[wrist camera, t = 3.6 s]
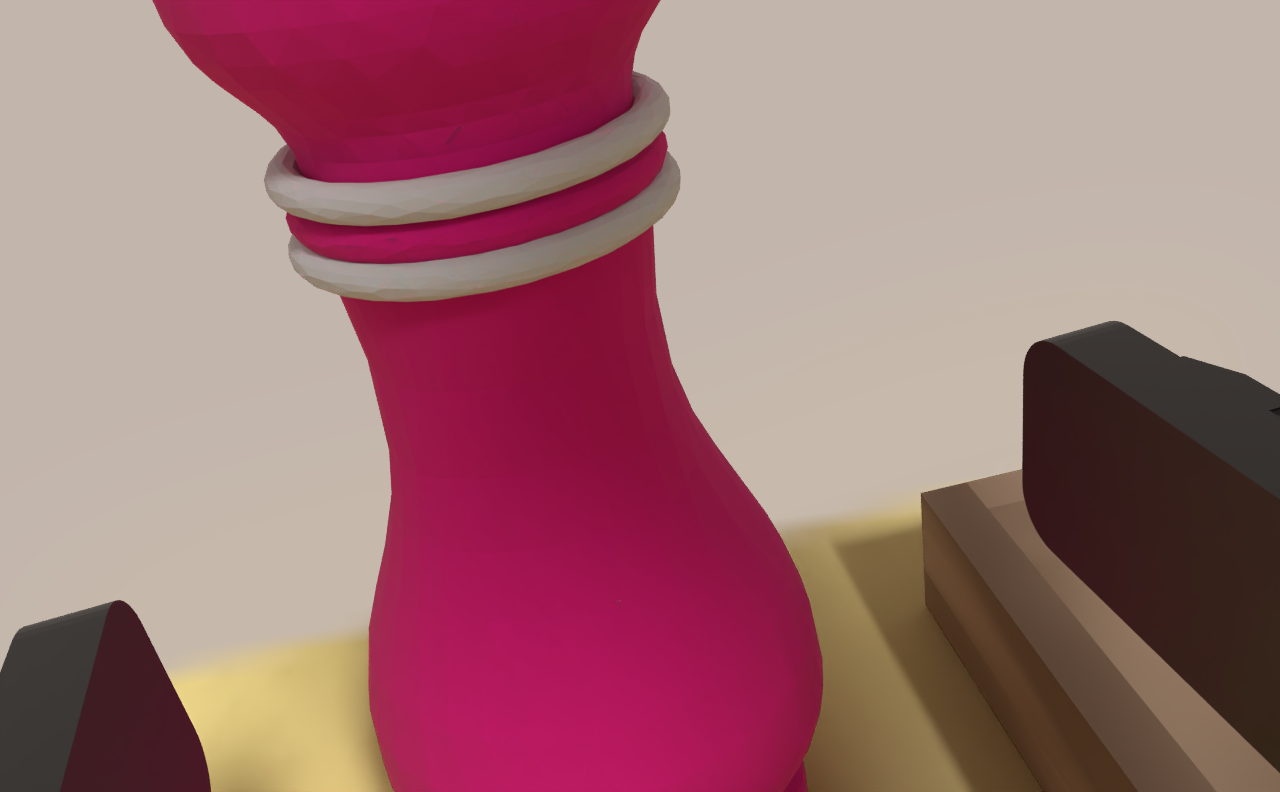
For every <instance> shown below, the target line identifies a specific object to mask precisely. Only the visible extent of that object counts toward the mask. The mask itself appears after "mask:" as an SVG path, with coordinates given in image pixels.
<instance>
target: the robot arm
mask: <svg viewBox="0 0 1280 792" xmlns="http://www.w3.org/2000/svg"><path fill="white" fill-rule="evenodd" d="M1022 485H1023V494H1024V499H1025V504H1026V507H1027V510H1028V513H1029V516H1030V519H1031V521H1032V523H1033V525H1034V527H1035V529H1036V531H1037V533H1038V534H1039V536H1040V538H1041V539H1042V541H1043V542H1044V543H1045V545H1046V546H1047V547H1048V548H1049V549H1050V550H1051V551H1052V552H1053V553H1054V554H1055V555H1056V556H1057V557H1058V558H1059V559H1060V560H1061V561H1062V562H1063V563H1064V564H1065V565H1066V566H1067V567H1068V568H1069V569H1070V570H1071V571H1072V572H1073V573H1074V574H1075V575H1076V576H1077V577H1078V578H1079V579H1080V580H1082V581H1083V582H1084V583H1085V584H1086V585H1087V586H1088V587H1089V588H1090V589H1091V590H1092V591H1093V592H1094V593H1095V594H1096V595H1097V596H1098V597H1099V598H1100V599H1101V600H1102V601H1103V602H1104V603H1105V604H1106V605H1107V606H1108V607H1109V608H1110V609H1111V610H1112V611H1113V612H1114V613H1115V614H1116V615H1118V616H1119V617H1120V618H1121V619H1122V620H1123V621H1124V622H1125V623H1126V624H1127V625H1128V626H1129V627H1130V628H1131V629H1132V630H1133V631H1134V632H1135V633H1136V634H1137V635H1138V636H1139V637H1140V638H1141V639H1142V640H1143V641H1144V642H1145V643H1146V644H1147V645H1148V646H1149V647H1150V648H1151V649H1153V650H1154V651H1155V652H1156V653H1157V654H1158V655H1159V656H1160V657H1161V658H1162V659H1163V660H1164V661H1165V662H1166V663H1167V664H1168V665H1169V666H1170V667H1171V668H1172V669H1173V670H1174V671H1175V672H1176V673H1177V674H1178V675H1179V676H1180V677H1181V678H1182V679H1183V680H1184V681H1185V682H1186V683H1187V684H1189V685H1190V686H1191V687H1192V688H1193V689H1194V690H1195V691H1196V692H1197V693H1198V694H1199V695H1200V696H1201V697H1202V698H1203V699H1204V700H1205V701H1206V702H1207V703H1208V704H1209V705H1210V706H1211V707H1212V708H1213V709H1214V710H1215V711H1216V712H1217V713H1218V714H1219V715H1220V716H1221V717H1222V718H1224V719H1225V720H1226V721H1227V722H1228V723H1229V724H1230V725H1231V726H1232V727H1233V728H1234V729H1235V730H1236V731H1237V732H1238V733H1239V734H1240V735H1241V736H1242V737H1243V738H1244V739H1245V740H1246V741H1247V742H1248V743H1249V744H1250V745H1251V746H1252V747H1253V748H1254V749H1255V750H1256V751H1257V752H1258V753H1260V754H1261V755H1262V756H1263V757H1264V758H1265V759H1266V760H1267V761H1268V762H1269V763H1270V764H1271V765H1272V766H1273V767H1274V768H1275V769H1276V770H1277V771H1278V772H1279V773H1280V394H1278V393H1276V392H1275V391H1273V390H1271V389H1270V388H1268V387H1266V386H1264V385H1263V384H1261V383H1259V382H1258V381H1256V380H1254V379H1252V378H1251V377H1249V376H1247V375H1245V374H1242V373H1239V372H1235V371H1232V370H1229V369H1225V368H1222V367H1218V366H1215V365H1212V364H1208V363H1205V362H1202V361H1198V360H1195V359H1192V358H1188V357H1185V356H1182V357H1179V356H1178V355H1176V354H1174V353H1173V352H1171V351H1170V350H1168V349H1166V348H1164V347H1163V346H1161V345H1159V344H1158V343H1156V342H1154V341H1153V340H1151V339H1150V338H1148V337H1146V336H1144V335H1143V334H1141V333H1140V332H1138V331H1136V330H1135V329H1133V328H1131V327H1130V326H1128V325H1126V324H1124V323H1122V322H1118V321H1109V322H1105V323H1102V324H1098V325H1095V326H1091V327H1088V328H1084V329H1081V330H1077V331H1073V332H1070V333H1067V334H1063V335H1059V336H1056V337H1052V338H1049V339H1045V340H1042V341H1039V342H1036V343H1034V344H1033V345H1032V346H1031V347H1030V349H1029V350H1028V352H1027V354H1026V357H1025V362H1024V371H1023V461H1022ZM0 792H211V787H210V779H209V773H208V767H207V763H206V759H205V755H204V751H203V748H202V745H201V742H200V740H199V737H198V735H197V733H196V730H195V728H194V726H193V724H192V722H191V720H190V718H189V716H188V714H187V712H186V710H185V708H184V706H183V704H182V702H181V700H180V698H179V696H178V695H177V693H176V691H175V689H174V687H173V685H172V683H171V681H170V679H169V677H168V675H167V673H166V671H165V669H164V667H163V665H162V663H161V661H160V659H159V657H158V655H157V653H156V651H155V649H154V647H153V645H152V643H151V641H150V639H149V637H148V635H147V633H146V631H145V629H144V627H143V625H142V623H141V621H140V619H139V618H138V616H137V614H136V613H135V612H134V610H133V609H132V608H131V607H130V606H129V605H128V604H127V603H125V602H124V601H121V600H117V601H113V602H109V603H106V604H103V605H99V606H95V607H92V608H88V609H85V610H81V611H78V612H75V613H71V614H67V615H64V616H60V617H57V618H53V619H50V620H46V621H42V622H39V623H36V624H32V625H29V626H25V627H23V628H21V629H19V631H18V632H17V633H16V634H15V636H14V638H13V640H12V643H11V645H10V648H9V651H8V653H7V657H6V659H5V661H4V664H3V667H2V669H1V672H0Z"/></svg>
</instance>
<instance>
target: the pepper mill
mask: <svg viewBox="0 0 1280 792" xmlns="http://www.w3.org/2000/svg"><path fill="white" fill-rule="evenodd" d="M153 2H154V4H155V7H156V9H157V11H158V13H159V16H160V18H161V20H162V22H163V24H164V26H165V27H166V29H167V30H168V31H169V32H170V34H171V35H172V37H173V38H174V39H175V41H176V42H177V43H178V44H179V46H180V47H181V48H182V49H183V51H184V52H185V54H186V55H187V56H188V58H189V59H190V60H191V61H192V63H193V64H194V65H195V66H197V67H198V68H199V69H200V70H201V71H202V72H203V73H204V74H206V75H207V76H208V77H209V78H210V79H211V80H212V81H214V82H215V83H216V84H218V85H219V86H220V87H222V88H223V89H224V90H226V91H227V92H229V93H230V94H232V95H233V96H234V97H236V98H237V99H239V100H240V101H241V102H243V103H244V104H246V105H247V106H249V107H250V108H251V109H253V110H254V111H256V112H257V113H259V114H260V115H261V116H262V117H263V118H265V119H266V120H267V121H268V122H269V123H270V124H272V125H273V126H274V127H275V128H276V129H277V131H278V132H279V133H280V135H281V136H282V138H283V139H284V140H285V142H286V143H287V145H285V146H284V147H282V148H281V149H280V150H279V151H278V152H277V154H276V155H275V156H274V158H273V159H272V160H271V161H270V163H269V164H268V168H267V171H266V175H265V178H264V182H265V187H266V191H267V193H268V195H269V197H270V198H271V200H272V201H273V202H274V203H275V204H276V205H277V206H278V207H280V208H282V209H283V210H285V211H286V212H287V215H286V220H287V223H288V226H289V228H290V231H291V233H292V236H291V239H290V242H289V245H288V248H289V258H290V260H291V263H292V265H293V267H294V269H295V271H296V272H297V273H298V274H299V275H300V276H301V277H303V278H304V279H305V280H307V281H308V282H309V283H311V284H312V285H313V286H315V287H317V288H319V289H322V290H325V291H328V292H331V293H334V294H337V295H340V297H341V299H342V302H343V304H344V306H345V309H346V311H347V313H348V316H349V318H350V320H351V323H352V325H353V327H354V329H355V331H356V334H357V336H358V339H359V341H360V343H361V346H362V348H363V350H364V353H365V355H366V357H367V360H368V363H369V367H370V372H371V376H372V380H373V384H374V389H375V393H376V397H377V401H378V405H379V409H380V414H381V418H382V422H383V426H384V431H385V435H386V439H387V443H388V447H389V454H390V472H391V490H392V495H391V503H390V511H389V519H388V527H387V535H386V543H385V548H384V553H383V557H382V562H381V567H380V571H379V576H378V581H377V585H376V591H375V597H374V603H373V608H372V614H371V619H370V625H369V699H370V711H371V715H372V719H373V723H374V727H375V730H376V734H377V738H378V742H379V746H380V750H381V754H382V758H383V761H384V765H385V768H386V770H387V773H388V776H389V779H390V782H391V785H392V788H393V789H394V791H395V792H808V791H807V782H806V774H805V768H804V763H803V759H804V757H805V755H806V753H807V751H808V749H809V747H810V744H811V740H812V737H813V734H814V731H815V727H816V724H817V721H818V717H819V714H820V709H821V699H822V690H823V669H822V656H821V651H820V647H819V642H818V638H817V633H816V629H815V624H814V620H813V615H812V611H811V607H810V602H809V599H808V596H807V593H806V591H805V588H804V585H803V582H802V580H801V577H800V574H799V572H798V570H797V568H796V566H795V564H794V562H793V560H792V558H791V556H790V554H789V552H788V550H787V548H786V546H785V544H784V542H783V540H782V538H781V537H780V535H779V533H778V532H777V530H776V528H775V527H774V525H773V523H772V522H771V520H770V519H769V517H768V515H767V514H766V512H765V511H764V509H763V508H762V507H761V505H760V504H759V503H758V501H757V500H756V499H755V497H754V496H753V494H752V493H751V492H750V491H749V489H748V488H747V486H746V485H745V484H744V482H743V481H742V480H741V478H740V477H739V476H738V474H737V473H736V472H735V470H734V469H733V468H732V466H731V465H730V464H729V462H728V461H727V459H726V458H725V457H724V456H723V454H722V453H721V451H720V450H719V449H718V447H717V446H716V445H715V443H714V442H713V440H712V439H711V437H710V436H709V434H708V433H707V431H706V430H705V428H704V427H703V425H702V424H701V422H700V421H699V419H698V418H697V416H696V415H695V413H694V412H693V410H692V408H691V406H690V403H689V401H688V399H687V397H686V394H685V392H684V390H683V388H682V385H681V383H680V381H679V379H678V376H677V374H676V372H675V370H674V368H673V365H672V362H671V358H670V354H669V349H668V344H667V340H666V335H665V332H664V326H663V322H662V317H661V313H660V308H659V304H658V299H657V295H656V277H655V256H654V255H655V254H654V234H653V224H655V223H656V222H657V221H659V220H660V219H661V218H663V216H664V215H665V214H666V213H667V211H668V210H669V209H670V208H671V206H672V205H673V204H674V202H675V200H676V197H677V195H678V192H679V189H680V170H679V167H678V165H677V162H676V161H675V159H674V158H673V157H672V156H671V155H670V153H669V152H668V151H667V148H668V146H667V141H666V136H665V134H664V132H663V131H662V130H663V129H664V127H665V125H666V123H667V121H668V119H669V115H670V105H669V97H668V95H667V94H666V92H665V91H664V90H663V88H662V87H661V85H660V84H659V83H658V82H656V81H654V80H653V79H651V78H649V77H647V76H646V75H643V74H640V73H637V72H634V71H633V63H634V55H635V51H636V48H637V45H638V42H639V39H640V36H641V33H642V31H643V29H644V27H645V26H646V24H647V22H648V21H649V19H650V17H651V15H652V13H653V12H654V10H655V8H656V7H657V5H658V3H659V2H660V0H153Z"/></svg>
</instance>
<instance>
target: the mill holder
mask: <svg viewBox="0 0 1280 792" xmlns="http://www.w3.org/2000/svg"><path fill="white" fill-rule="evenodd" d="M921 509H922V532H923V554H924V577H925V599H926V605H927V607H928V609H929V610H930V612H931V613H932V615H933V616H934V618H935V620H936V621H937V623H938V624H939V626H940V628H941V629H942V631H943V632H944V634H945V635H946V637H947V639H948V640H949V642H950V643H951V645H952V647H953V648H954V650H955V651H956V653H957V654H958V656H959V658H960V659H961V661H962V662H963V664H964V666H965V667H966V669H967V670H968V672H969V673H970V675H971V677H972V678H973V680H974V681H975V683H976V685H977V686H978V688H979V689H980V691H981V692H982V694H983V696H984V697H985V699H986V700H987V702H988V704H989V705H990V707H991V708H992V710H993V711H994V713H995V715H996V716H997V718H998V719H999V721H1000V723H1001V724H1002V726H1003V727H1004V729H1005V730H1006V732H1007V734H1008V735H1009V737H1010V738H1011V740H1012V741H1013V743H1014V745H1015V746H1016V748H1017V749H1018V751H1019V753H1020V754H1021V756H1022V757H1023V759H1024V760H1025V762H1026V764H1027V765H1028V767H1029V768H1030V770H1031V772H1032V773H1033V775H1034V776H1035V778H1036V779H1037V781H1038V783H1039V784H1040V786H1041V787H1042V789H1043V791H1044V792H1280V773H1279V772H1278V771H1277V770H1276V769H1275V768H1274V767H1273V766H1272V765H1271V764H1270V763H1269V762H1268V761H1267V760H1266V759H1265V758H1264V757H1263V756H1262V755H1261V754H1260V753H1258V752H1257V751H1256V750H1255V749H1254V748H1253V747H1252V746H1251V745H1250V744H1249V743H1248V742H1247V741H1246V740H1245V739H1244V738H1243V737H1242V736H1241V735H1240V734H1239V733H1238V732H1237V731H1236V730H1235V729H1234V728H1233V727H1232V726H1231V725H1230V724H1229V723H1228V722H1227V721H1226V720H1225V719H1224V718H1222V717H1221V716H1220V715H1219V714H1218V713H1217V712H1216V711H1215V710H1214V709H1213V708H1212V707H1211V706H1210V705H1209V704H1208V703H1207V702H1206V701H1205V700H1204V699H1203V698H1202V697H1201V696H1200V695H1199V694H1198V693H1197V692H1196V691H1195V690H1194V689H1193V688H1192V687H1191V686H1190V685H1189V684H1187V683H1186V682H1185V681H1184V680H1183V679H1182V678H1181V677H1180V676H1179V675H1178V674H1177V673H1176V672H1175V671H1174V670H1173V669H1172V668H1171V667H1170V666H1169V665H1168V664H1167V663H1166V662H1165V661H1164V660H1163V659H1162V658H1161V657H1160V656H1159V655H1158V654H1157V653H1156V652H1155V651H1154V650H1153V649H1151V648H1150V647H1149V646H1148V645H1147V644H1146V643H1145V642H1144V641H1143V640H1142V639H1141V638H1140V637H1139V636H1138V635H1137V634H1136V633H1135V632H1134V631H1133V630H1132V629H1131V628H1130V627H1129V626H1128V625H1127V624H1126V623H1125V622H1124V621H1123V620H1122V619H1121V618H1120V617H1119V616H1118V615H1116V614H1115V613H1114V612H1113V611H1112V610H1111V609H1110V608H1109V607H1108V606H1107V605H1106V604H1105V603H1104V602H1103V601H1102V600H1101V599H1100V598H1099V597H1098V596H1097V595H1096V594H1095V593H1094V592H1093V591H1092V590H1091V589H1090V588H1089V587H1088V586H1087V585H1086V584H1085V583H1084V582H1083V581H1082V580H1080V579H1079V578H1078V577H1077V576H1076V575H1075V574H1074V573H1073V572H1072V571H1071V570H1070V569H1069V568H1068V567H1067V566H1066V565H1065V564H1064V563H1063V562H1062V561H1061V560H1060V559H1059V558H1058V557H1057V556H1056V555H1055V554H1054V553H1053V552H1052V551H1051V550H1050V549H1049V548H1048V547H1047V546H1046V545H1045V543H1044V542H1043V541H1042V539H1041V538H1040V536H1039V534H1038V533H1037V531H1036V529H1035V527H1034V525H1033V523H1032V521H1031V519H1030V516H1029V513H1028V510H1027V507H1026V504H1025V499H1024V494H1023V485H1022V469H1021V470H1017V471H1013V472H1008V473H1004V474H1000V475H996V476H992V477H987V478H983V479H979V480H975V481H970V482H966V483H962V484H958V485H954V486H949V487H945V488H941V489H937V490H933V491H928V492H924V493H921Z"/></svg>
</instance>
